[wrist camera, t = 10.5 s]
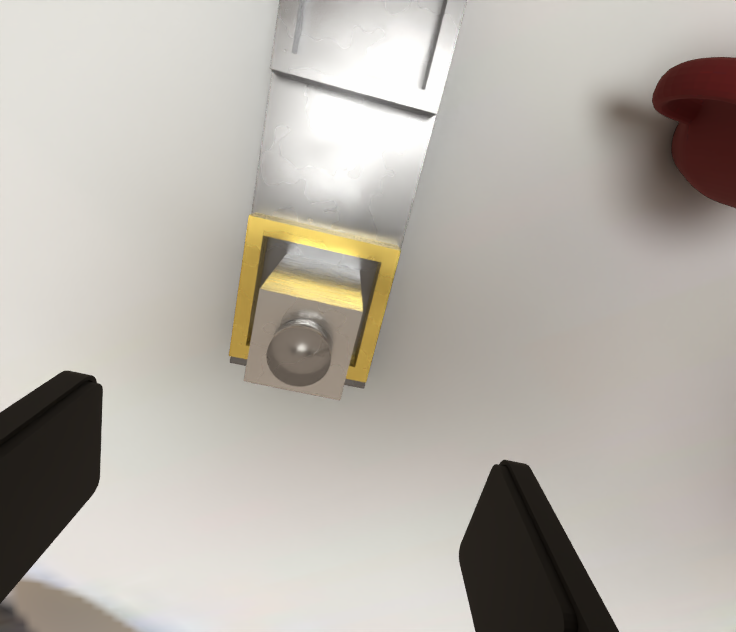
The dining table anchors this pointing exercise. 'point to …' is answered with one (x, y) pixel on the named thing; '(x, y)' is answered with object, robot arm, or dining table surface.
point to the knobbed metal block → (305, 327)
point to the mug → (703, 123)
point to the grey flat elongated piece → (345, 146)
